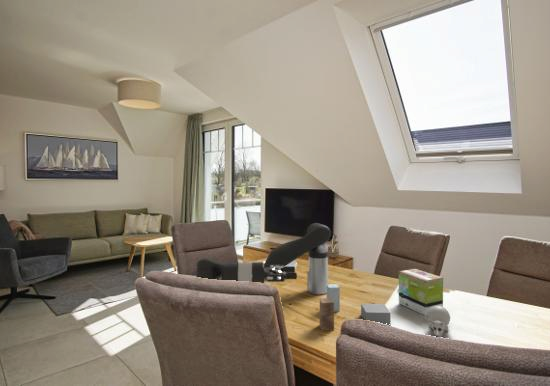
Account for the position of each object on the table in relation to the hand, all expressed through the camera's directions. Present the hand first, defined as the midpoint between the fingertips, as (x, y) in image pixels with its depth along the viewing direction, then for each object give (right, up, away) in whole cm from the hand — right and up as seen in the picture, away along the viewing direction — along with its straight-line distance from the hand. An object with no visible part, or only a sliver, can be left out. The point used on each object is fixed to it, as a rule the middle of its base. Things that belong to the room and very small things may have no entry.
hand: (295, 272), depth 120 cm
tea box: (+54, -20, +19) cm, 60 cm away
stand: (+55, -19, +40) cm, 70 cm away
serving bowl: (-5, -19, +72) cm, 74 cm away
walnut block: (+12, -21, +1) cm, 24 cm away
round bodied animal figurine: (+50, -21, -3) cm, 54 cm away
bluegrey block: (+17, -20, +18) cm, 32 cm away
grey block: (+31, -20, +7) cm, 38 cm away
